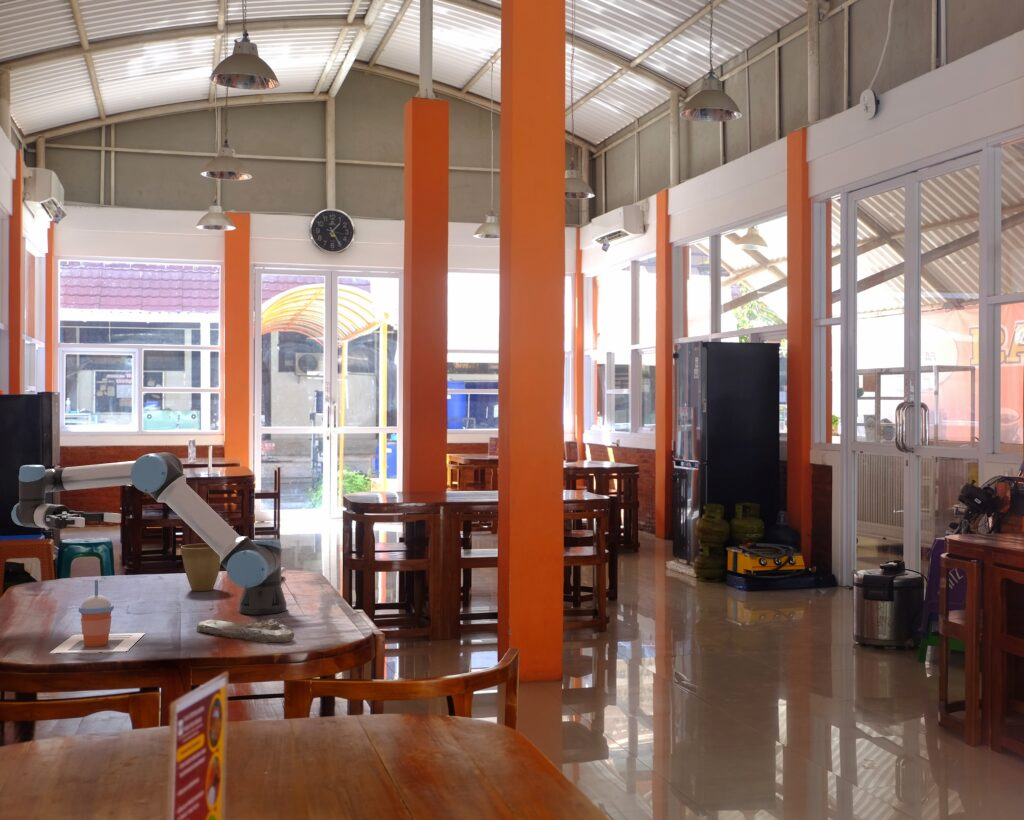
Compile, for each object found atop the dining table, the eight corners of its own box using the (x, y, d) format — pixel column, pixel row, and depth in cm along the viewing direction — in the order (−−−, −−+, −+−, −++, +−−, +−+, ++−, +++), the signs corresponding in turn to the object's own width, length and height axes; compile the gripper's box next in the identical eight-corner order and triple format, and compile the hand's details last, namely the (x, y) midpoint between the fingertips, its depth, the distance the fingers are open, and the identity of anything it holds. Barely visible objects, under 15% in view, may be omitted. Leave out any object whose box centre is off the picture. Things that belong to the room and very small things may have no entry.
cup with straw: (101, 649, 284) (101, 583, 284) (71, 647, 286) (71, 581, 286) (120, 641, 293) (120, 577, 293) (91, 640, 295) (91, 576, 295)
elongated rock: (212, 631, 316) (188, 639, 307) (211, 614, 316) (187, 621, 307) (303, 637, 300) (280, 646, 291) (302, 619, 300) (279, 627, 291)
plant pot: (232, 588, 380) (232, 544, 380) (200, 594, 367) (201, 549, 367) (203, 584, 388) (203, 541, 388) (171, 590, 375) (171, 546, 375)
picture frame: (145, 634, 305) (145, 632, 305) (126, 651, 283) (126, 650, 283) (73, 635, 302) (73, 634, 302) (49, 653, 280) (49, 652, 280)
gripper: (86, 524, 335) (134, 528, 326) (18, 533, 313) (67, 537, 304) (86, 501, 335) (134, 504, 326) (18, 508, 313) (67, 511, 303)
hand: (102, 520), depth 315 cm, fingers open, 13 cm apart
